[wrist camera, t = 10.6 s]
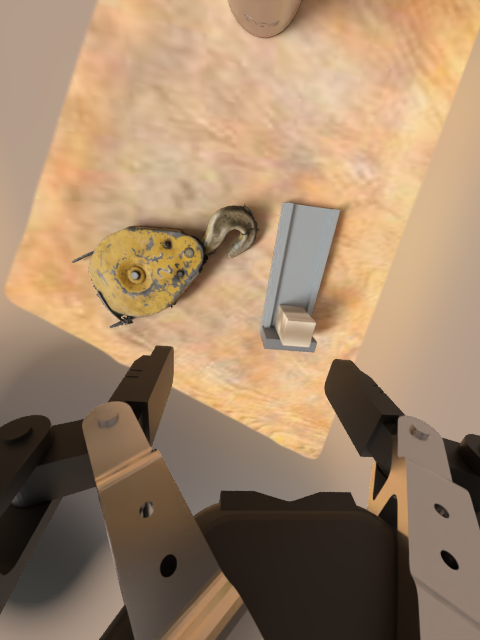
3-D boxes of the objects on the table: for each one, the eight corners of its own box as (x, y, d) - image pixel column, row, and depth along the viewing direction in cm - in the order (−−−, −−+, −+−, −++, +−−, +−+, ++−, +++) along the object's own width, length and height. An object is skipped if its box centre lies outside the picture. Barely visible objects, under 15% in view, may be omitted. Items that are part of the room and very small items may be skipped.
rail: (282, 202, 35) (292, 199, 30) (336, 210, 36) (356, 209, 30) (259, 332, 44) (264, 348, 39) (303, 335, 45) (314, 352, 40)
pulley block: (276, 269, 33) (102, 339, 36) (271, 267, 39) (121, 328, 42) (241, 167, 30) (52, 255, 33) (241, 181, 35) (79, 255, 38)
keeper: (278, 304, 41) (288, 320, 34) (302, 306, 41) (316, 322, 35) (274, 326, 42) (282, 345, 36) (296, 328, 43) (309, 347, 36)
